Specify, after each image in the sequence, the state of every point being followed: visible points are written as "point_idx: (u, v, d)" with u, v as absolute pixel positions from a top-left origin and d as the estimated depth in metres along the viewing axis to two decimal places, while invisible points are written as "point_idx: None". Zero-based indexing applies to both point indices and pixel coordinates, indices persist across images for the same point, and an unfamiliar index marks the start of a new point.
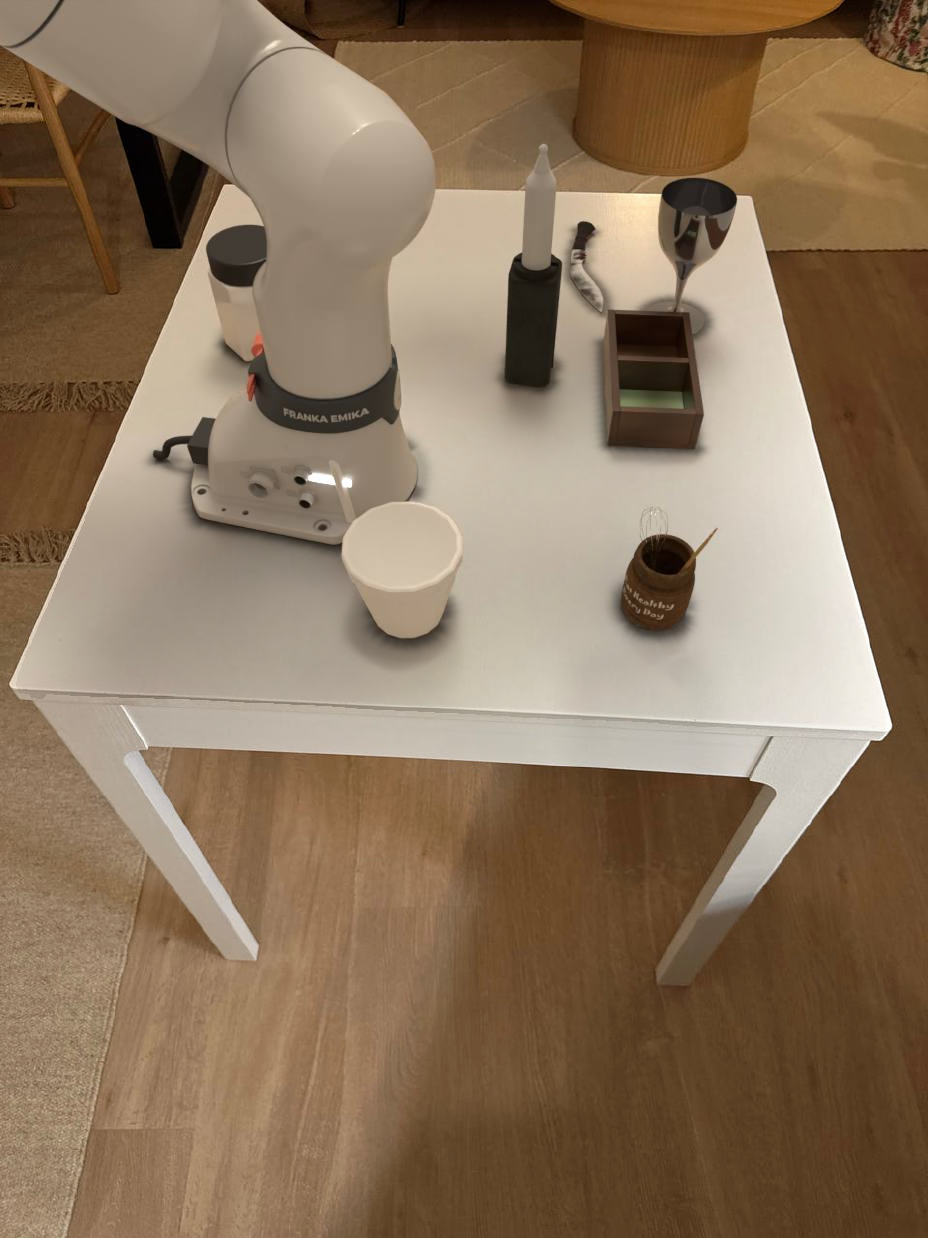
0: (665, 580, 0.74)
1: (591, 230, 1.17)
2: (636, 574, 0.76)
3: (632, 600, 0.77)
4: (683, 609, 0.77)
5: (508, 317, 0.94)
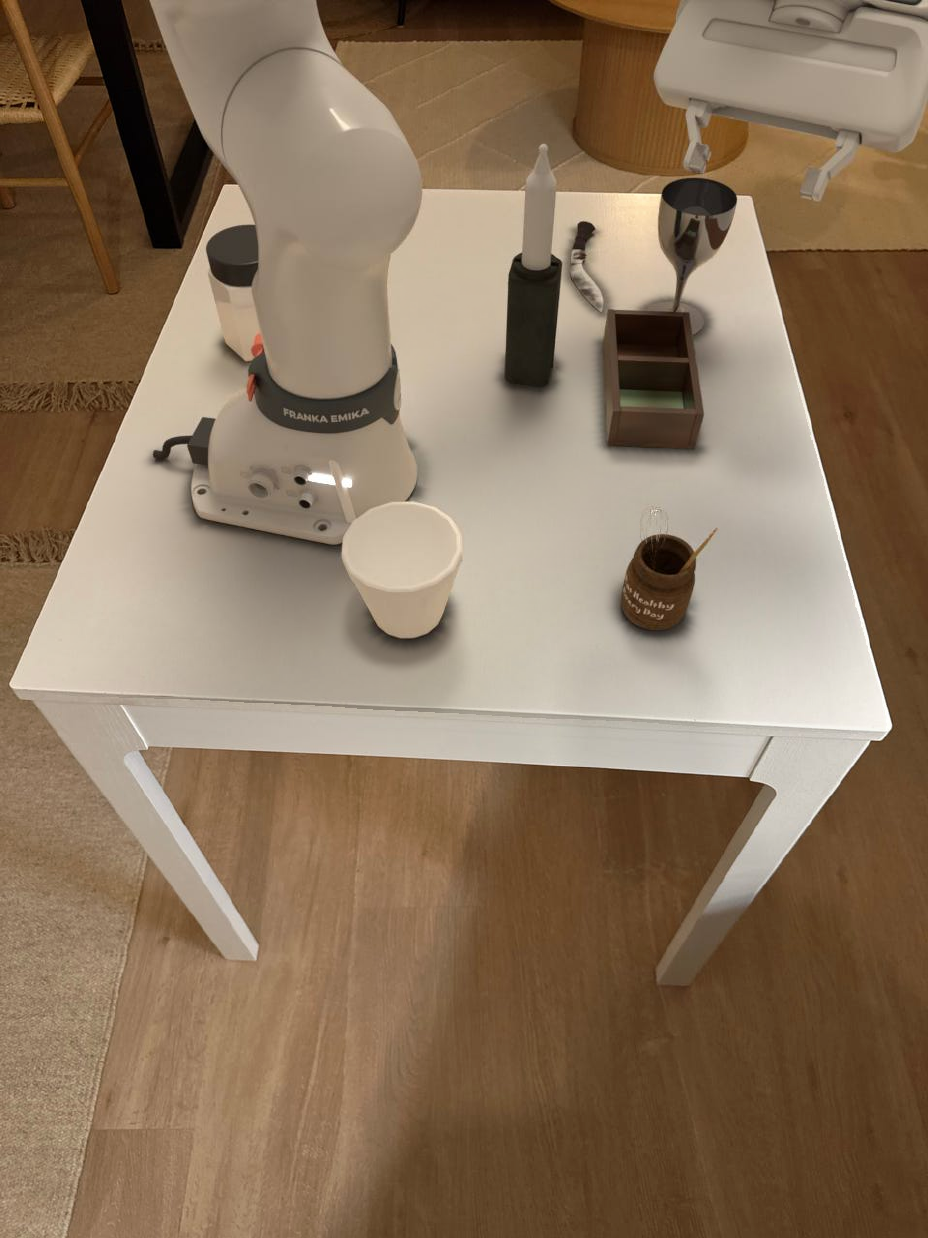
0: (665, 580, 0.74)
1: (591, 230, 1.17)
2: (636, 574, 0.76)
3: (632, 600, 0.77)
4: (683, 609, 0.77)
5: (508, 317, 0.94)
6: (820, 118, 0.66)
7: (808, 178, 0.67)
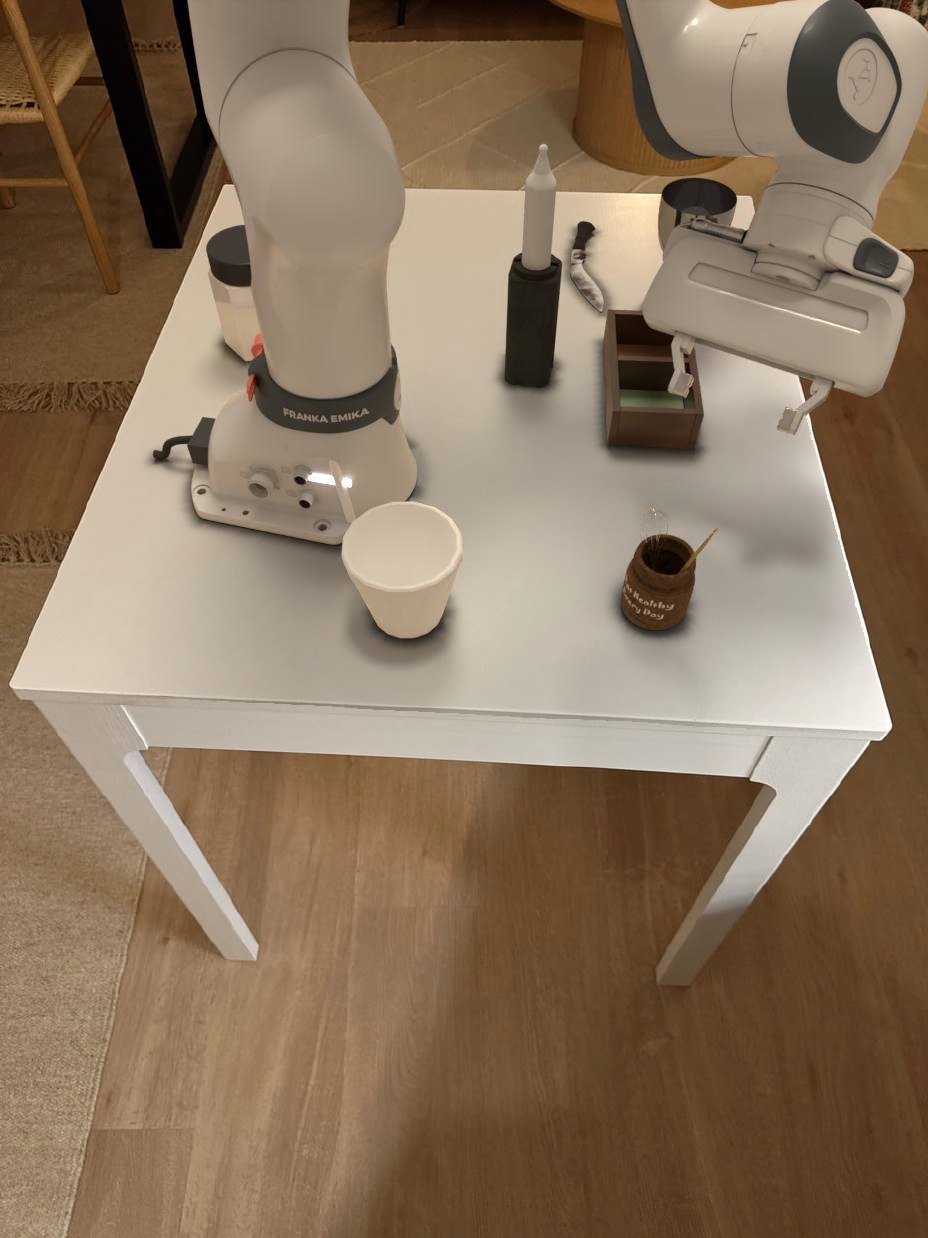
0: (665, 580, 0.74)
1: (591, 230, 1.17)
2: (636, 574, 0.76)
3: (632, 600, 0.77)
4: (683, 609, 0.77)
5: (508, 317, 0.94)
6: (797, 365, 0.70)
7: (785, 416, 0.72)
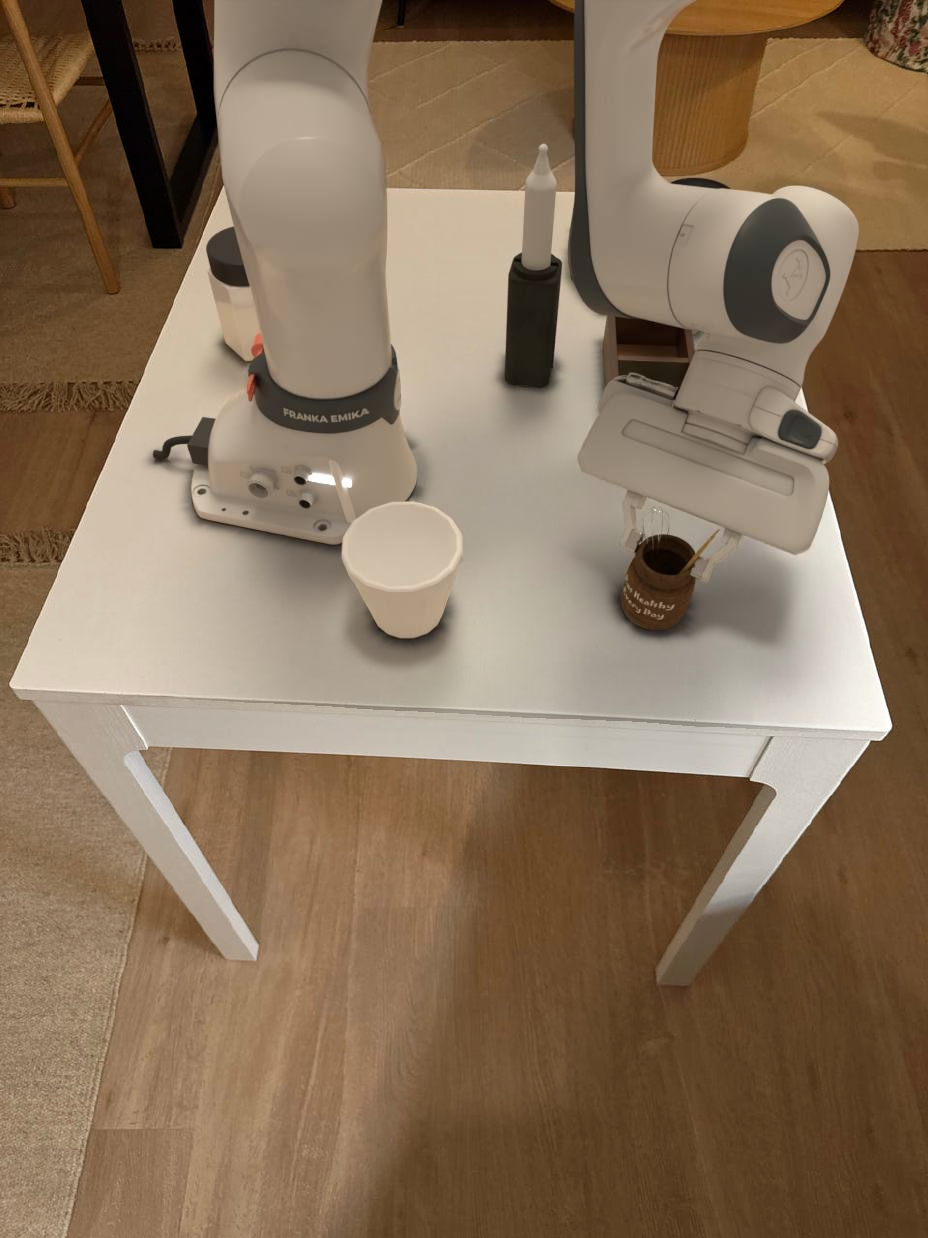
0: (666, 580, 0.74)
1: None
2: (637, 574, 0.76)
3: (633, 600, 0.77)
4: (683, 609, 0.77)
5: (508, 317, 0.94)
6: (726, 525, 0.71)
7: (697, 565, 0.73)
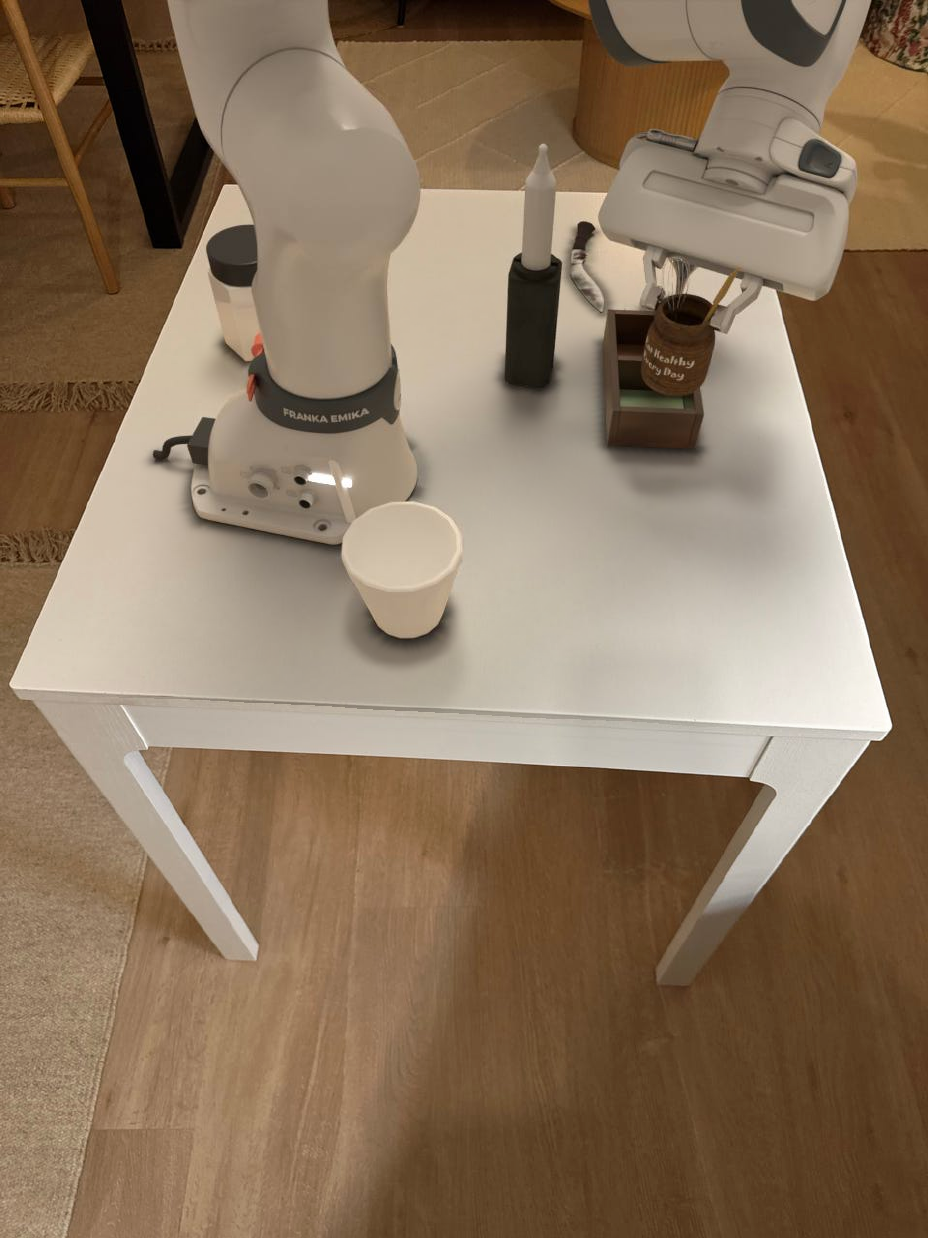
0: (686, 330, 0.75)
1: (591, 230, 1.17)
2: (657, 331, 0.77)
3: (653, 360, 0.78)
4: (703, 371, 0.78)
5: (508, 317, 0.94)
6: (746, 268, 0.72)
7: (716, 313, 0.74)
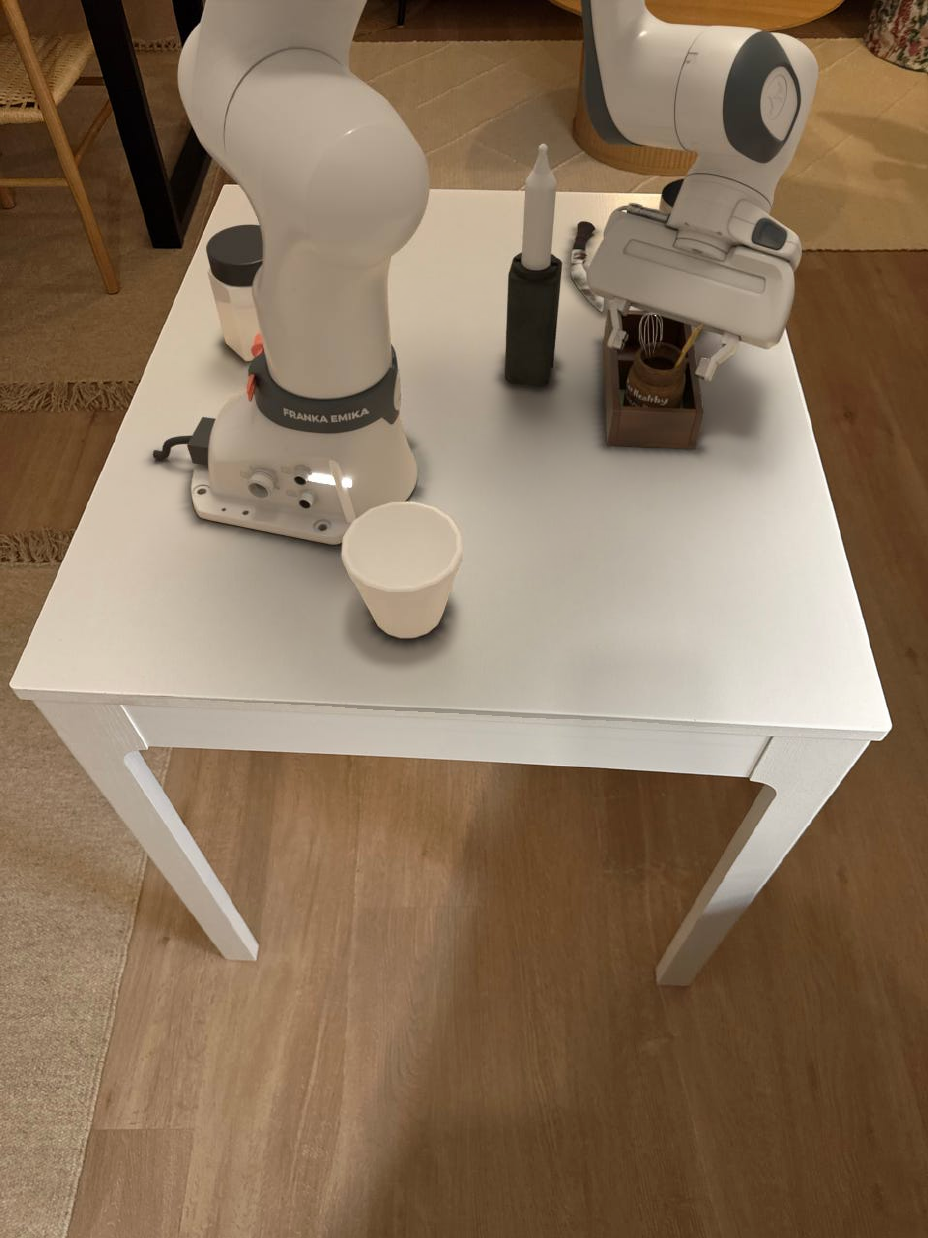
0: (660, 374, 0.89)
1: (591, 230, 1.17)
2: (636, 374, 0.91)
3: (633, 398, 0.92)
4: (675, 406, 0.92)
5: (508, 317, 0.94)
6: (710, 322, 0.86)
7: (701, 365, 0.87)
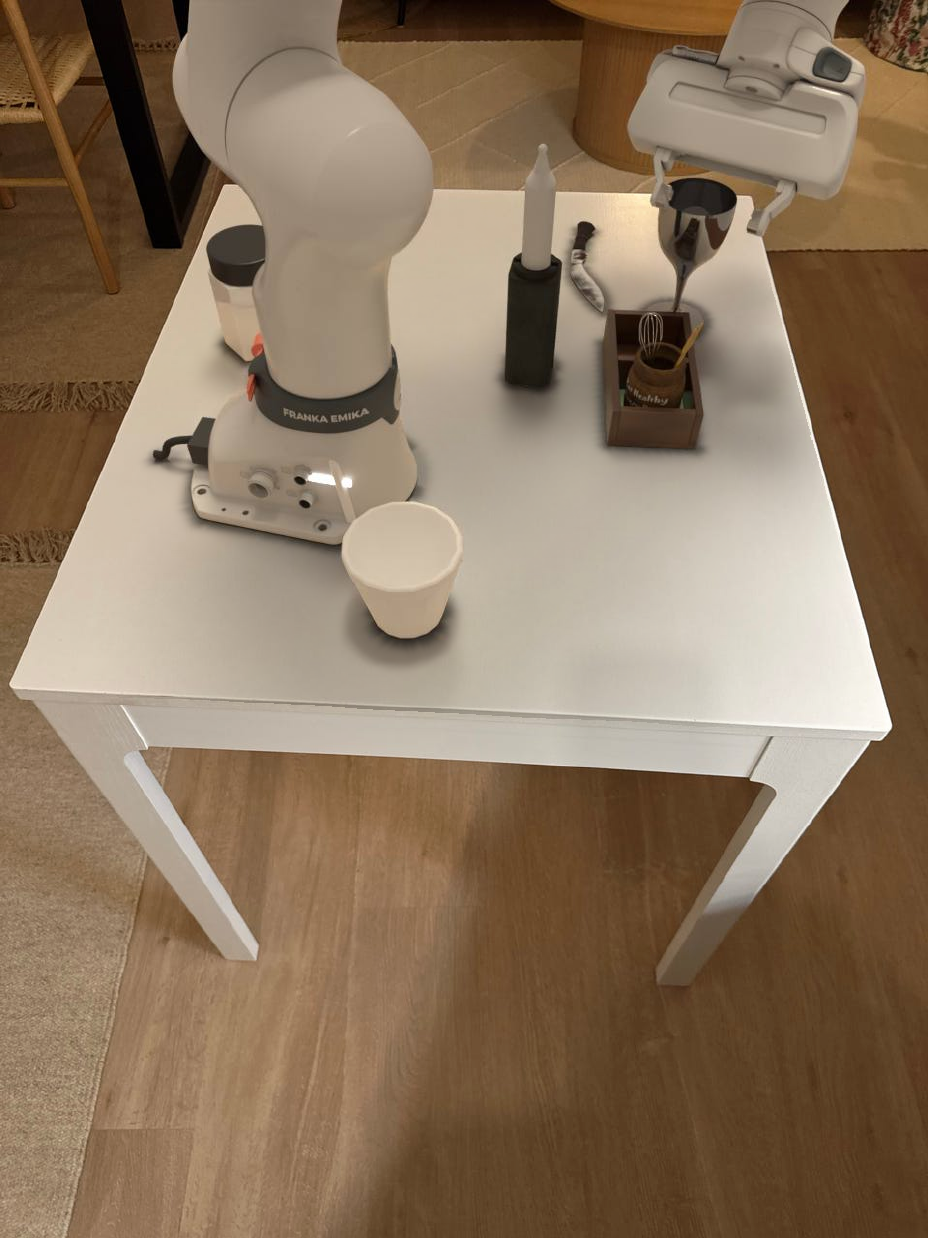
0: (660, 374, 0.89)
1: (591, 230, 1.17)
2: (636, 374, 0.91)
3: (633, 398, 0.92)
4: (675, 406, 0.92)
5: (508, 317, 0.94)
6: (764, 168, 0.79)
7: (753, 217, 0.81)
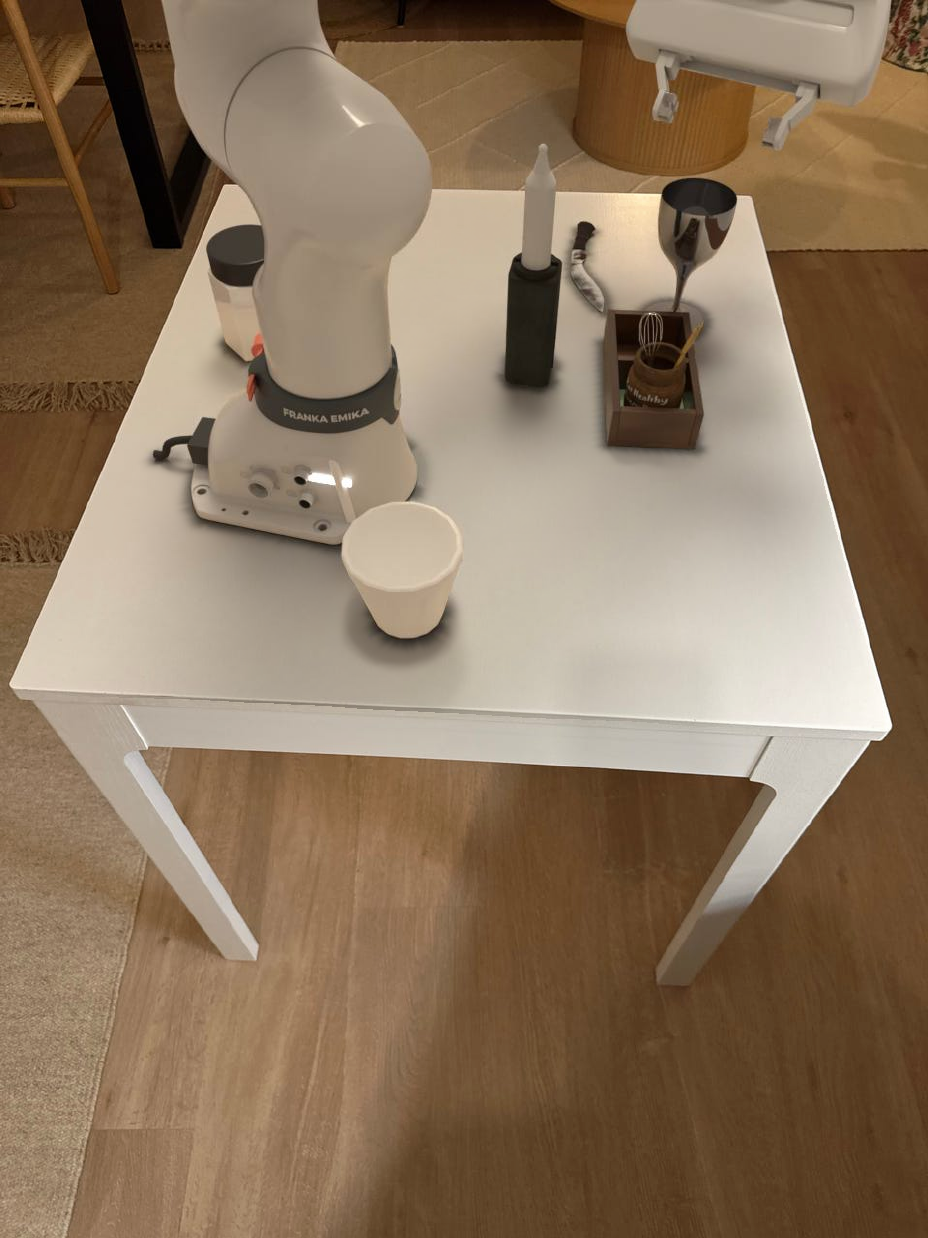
0: (660, 374, 0.89)
1: (591, 230, 1.17)
2: (636, 374, 0.91)
3: (633, 398, 0.92)
4: (675, 406, 0.92)
5: (508, 317, 0.94)
6: (782, 69, 0.69)
7: (770, 126, 0.71)
